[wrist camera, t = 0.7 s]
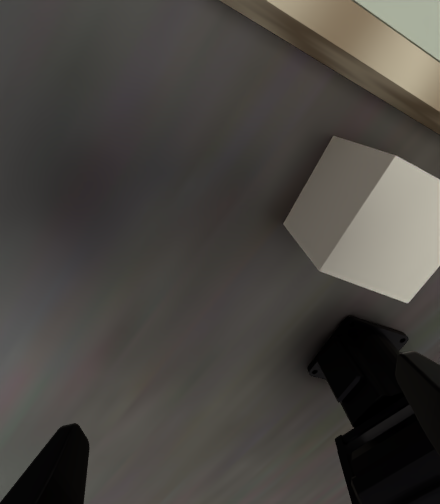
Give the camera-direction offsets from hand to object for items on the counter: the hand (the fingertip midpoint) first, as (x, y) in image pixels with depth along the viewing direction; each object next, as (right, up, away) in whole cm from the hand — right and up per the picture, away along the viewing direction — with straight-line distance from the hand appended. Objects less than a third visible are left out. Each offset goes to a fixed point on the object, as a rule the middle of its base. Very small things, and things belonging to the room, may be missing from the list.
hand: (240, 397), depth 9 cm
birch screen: (+10, +13, +9) cm, 19 cm away
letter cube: (+8, +7, +12) cm, 16 cm away
